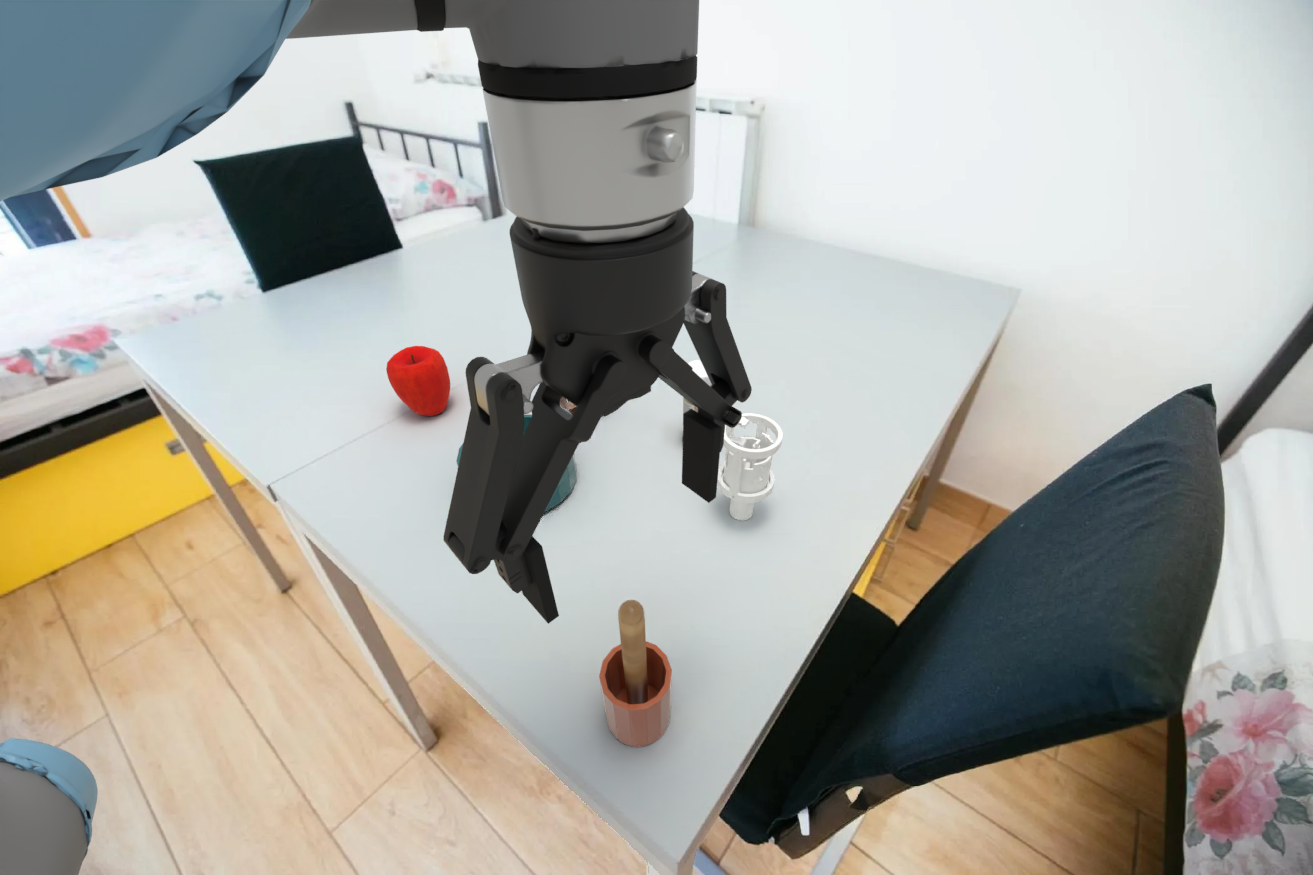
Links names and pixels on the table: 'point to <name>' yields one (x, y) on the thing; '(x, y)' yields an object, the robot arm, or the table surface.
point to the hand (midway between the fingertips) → (627, 542)
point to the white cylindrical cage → (748, 465)
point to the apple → (420, 379)
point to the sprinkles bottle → (703, 375)
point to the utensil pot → (637, 720)
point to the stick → (633, 651)
